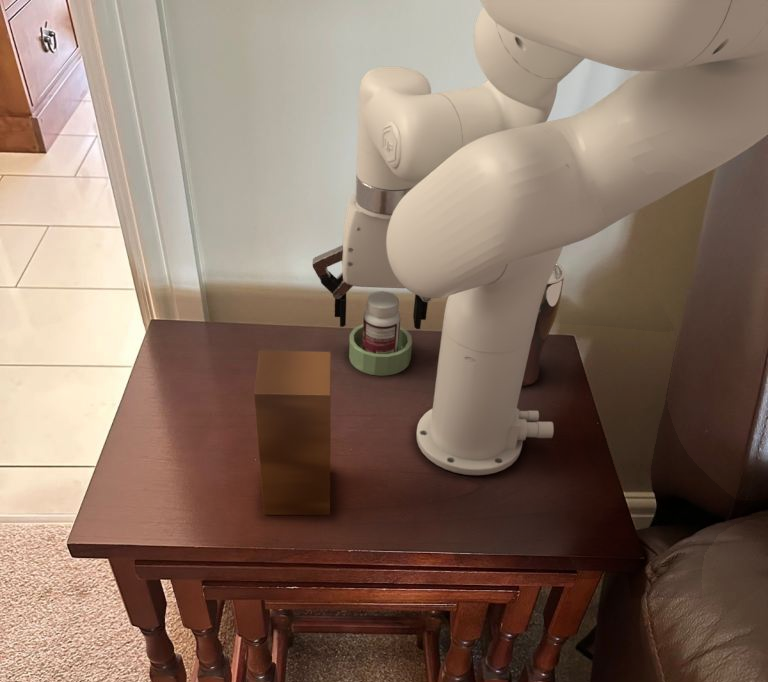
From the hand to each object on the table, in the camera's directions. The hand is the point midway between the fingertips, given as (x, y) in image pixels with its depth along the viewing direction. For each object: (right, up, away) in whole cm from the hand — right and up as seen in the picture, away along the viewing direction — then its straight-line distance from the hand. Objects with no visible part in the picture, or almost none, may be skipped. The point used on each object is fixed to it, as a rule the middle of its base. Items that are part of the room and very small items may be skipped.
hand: (379, 322), depth 101 cm
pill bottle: (0, -4, +3) cm, 5 cm away
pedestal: (-9, -22, -15) cm, 29 cm away
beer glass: (+18, -6, +3) cm, 19 cm away
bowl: (0, -4, +3) cm, 5 cm away
